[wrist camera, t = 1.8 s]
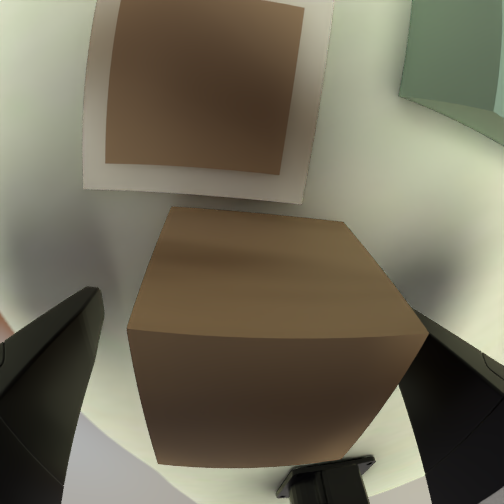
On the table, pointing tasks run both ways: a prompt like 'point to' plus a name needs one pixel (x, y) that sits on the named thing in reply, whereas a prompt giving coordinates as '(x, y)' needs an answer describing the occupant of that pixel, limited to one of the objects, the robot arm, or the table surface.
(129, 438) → the table surface
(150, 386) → the walnut cube
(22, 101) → the table surface
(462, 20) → the base block
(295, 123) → the swatch
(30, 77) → the table surface
